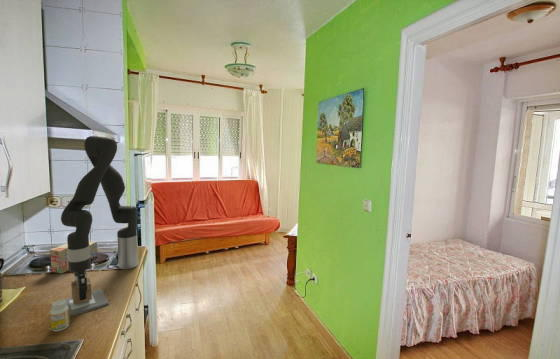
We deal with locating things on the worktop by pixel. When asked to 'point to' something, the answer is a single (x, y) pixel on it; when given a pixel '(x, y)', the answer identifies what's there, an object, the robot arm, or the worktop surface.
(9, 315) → the worktop surface
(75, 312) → the grey flat plate
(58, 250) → the colorful cardboard box
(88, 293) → the tan wooden block
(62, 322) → the supplement bottle
